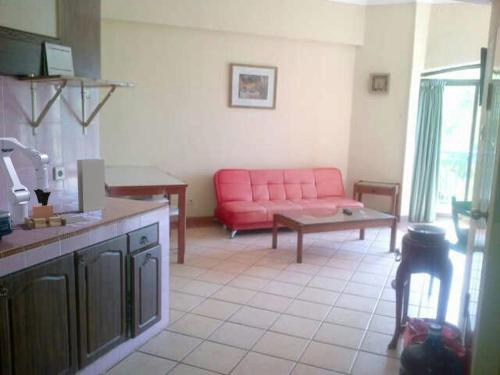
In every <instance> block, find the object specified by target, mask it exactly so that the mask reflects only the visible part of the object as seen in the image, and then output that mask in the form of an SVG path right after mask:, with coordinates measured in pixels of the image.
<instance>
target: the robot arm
mask: <svg viewBox="0 0 500 375" xmlns="http://www.w3.org/2000/svg"><path fill="white" fill-rule="evenodd" d="M15 150H16V151H18V152H19V153H21V154H22V155H23V157H24V158H25V159H27V160H29V161H31V164H32V165H33V169H34V176H35V179H34V180H35V188H34V189H33V191H34V193H35V196H36V199H37V203H38V204H41V205H42V206H47V205H49V204H48V203H49V198H50V196H51V193H52V192H51V191H49V188H50V189H51V188H52V187H51V185H49V178H48V177H49V176H48V175H49V174H48V173H49V171H48V165H49V164H50V161H51V158H50V155H48V153H46V152H45V153H44V152H43V153H41V151H39V150H36V149H34V147H33V146H26V145H24V144H22V143H21V142H19V141H18V139H17V138H15V137H14V136H13V137H12V136H11V137H0V167H1V170H2V172H3V174H4V177H5V179H6V182H7V185H8V189H7V190H6V196H7V201H8V203H9V204H10V205H11V217H10V218H11V219H10V221H12V222H13V223H17V222H18V223H20V222H25V220H24V218H25V217H27V218H28V219H30V218H29V211H28V209H29V206H28V204H29V202H30V200H31V198H32V196H31V193H30V191H29V190H28V188H27V187H26V186H25V185H24V184H22V183H21V182H20V179H19V176H18V174H17V171H16V170H15V168H14V164H13V162H12V159H11V155H12V154H13V153H14V152H15Z"/></svg>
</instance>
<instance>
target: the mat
mask: <svg viewBox="0 0 500 375" xmlns="http://www.w3.org/2000/svg"><path fill="white" fill-rule="evenodd" d="M63 218H64V219H66V225H67V224H75V223H76V224H77V223H83V222H84V223H85V222H90V220H89V219H88V218H86V217H84V216H82V215H77V216H69V217H66V216H65V217H63Z"/></svg>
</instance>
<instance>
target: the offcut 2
mask: <svg viewBox="0 0 500 375" xmlns="http://www.w3.org/2000/svg"><path fill="white" fill-rule="evenodd" d="M61 217H62V216H61ZM61 217H59V216H58V217H54V216H53V217H49V226H58V227H60V226H59V225H61Z"/></svg>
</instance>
